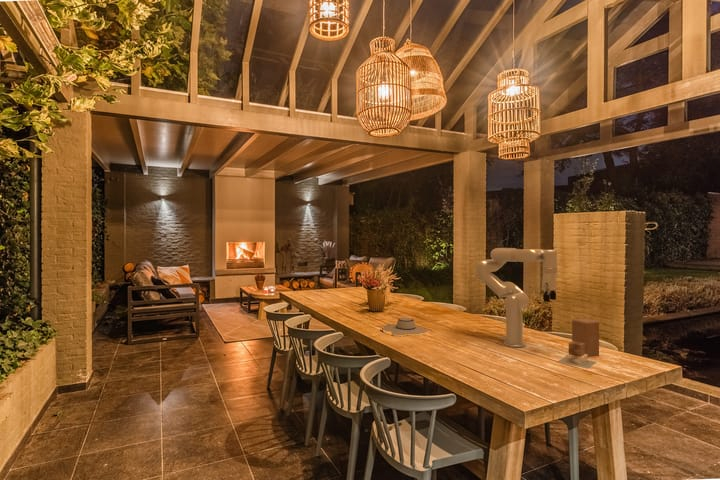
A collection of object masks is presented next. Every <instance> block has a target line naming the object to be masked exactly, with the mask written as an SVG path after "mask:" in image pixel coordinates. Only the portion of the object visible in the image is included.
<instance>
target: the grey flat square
mask: <svg viewBox="0 0 720 480" xmlns="http://www.w3.org/2000/svg"><path fill="white" fill-rule="evenodd" d="M557 363H560V364H565V365H569V366H574V367H578V368H584V369H587V370H588V369H590V368H591V367H593V365H595V364H596V363H597V361H594V360H589V359H588V362H587V363H585V364H584V365H578V364H573V363H569V362H566V356H564V357H563V358H561V359H559V360H558V361H557Z"/></svg>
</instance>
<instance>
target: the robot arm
mask: <svg viewBox="0 0 720 480" xmlns="http://www.w3.org/2000/svg"><path fill="white" fill-rule="evenodd" d="M490 258H491V259H490ZM490 258H489V259H482V260H480V261H478V262H477V263H476V266H475V272H476V275H477V277H478V278H479V280H480V281H482V282H483V283H484V284H485V285H486V286H487V287H488V288H489V289H490V290H491V291H492V292H493V293H495V294H496V296H498V297H499V298H505V299H504V309H505V315H506V316H505V320H506V323H505V324H506V325H505V326H506V327H505V329H506V331H505V332H506V333H505V335H506V336H505V335H500V340H503V345H505V346H507V347H511V348H524V347H526V343H525V342H524V341H523V340H524V339H523V338H524V336H523V335H524V333H523V332H524V331H523V330H524V328H523V327H524V326H523V325H524V324H523V323H524V322H523V320H524V319H523V312H522V310H521V309H525V308H526V307H528V306H529V305H530V297H529V296H528V295H527V293H525V292H524V291H523V290H522V289H521V288H520V287H519V286H518V285H516V284H515V283H513V282H511V281H503V280H501V279H500V278H499V277H498V276H497V275H495V274H494V272H497V271H498V270H499V269H501V268H502V267H503V266H504V265H505V264H506V263H507V262H511V263H512V262H515V263H516V262H517V263H518V262H520V263H538V262H540V263H541V262H542V280H541V290H542V292H543V302H547V303H549V302H550V300H551V301H552V300H553V301H556V300H557V274H558V269H557V268H558V253H557V250H555V249H541V248H535V249H534V248H532V249H531V248H530V249H528V248H527V249H523V248H522V249H518V248H516V247H515V248H514V247H496V248H494V249H492V250H491V251H490Z"/></svg>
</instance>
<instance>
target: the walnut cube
mask: <svg viewBox="0 0 720 480" xmlns="http://www.w3.org/2000/svg"><path fill="white" fill-rule="evenodd" d="M568 353H569V355H574V356H579V357H582V356H583V355H585V343H581V342H575V341H572V340H571V341H569V342H568Z"/></svg>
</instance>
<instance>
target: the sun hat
mask: <svg viewBox="0 0 720 480" xmlns="http://www.w3.org/2000/svg"><path fill="white" fill-rule="evenodd" d="M397 319H398V320H397V323H393V324H387V325H385V326H386V327H385V326H383V327H384V328H383V327H381V328H382V330H385V331H391V332H392V333H393V334H396V335H405V334H420V333H425V332H427V331H428V330H429V329H428V330H426V329H423V328H421V327H422V326H421V327H418V326H417V325H416V324H415V323H416V322H415V321H414V318H410V317H400V318H397Z"/></svg>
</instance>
